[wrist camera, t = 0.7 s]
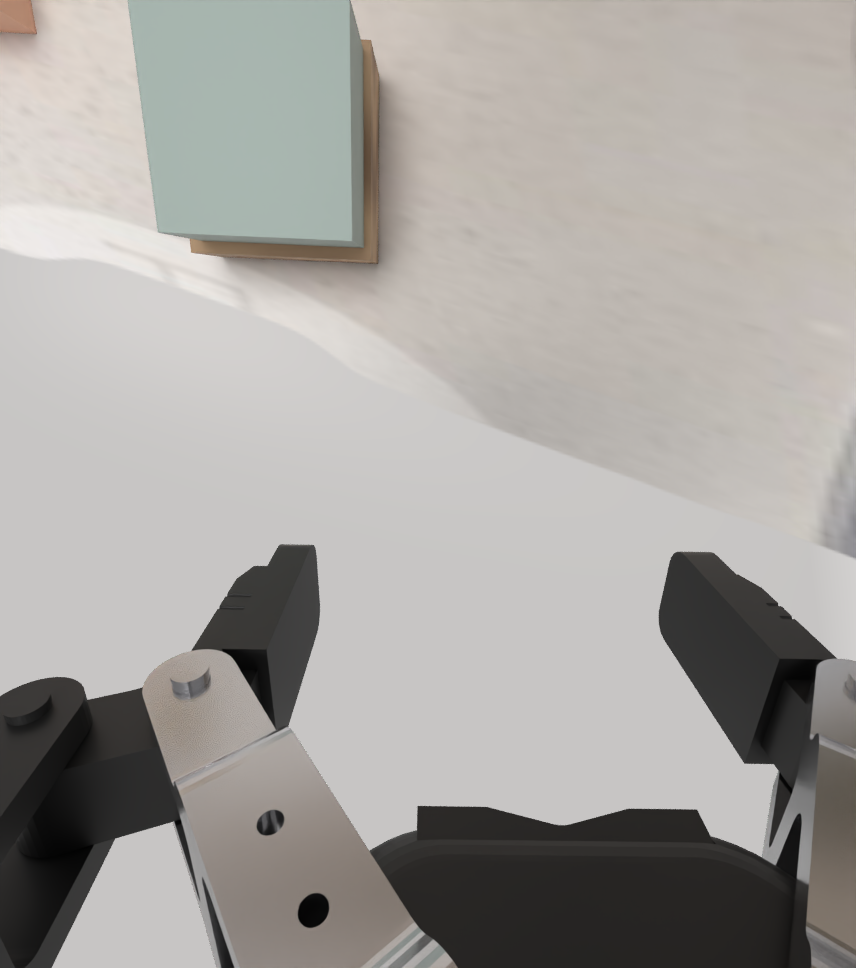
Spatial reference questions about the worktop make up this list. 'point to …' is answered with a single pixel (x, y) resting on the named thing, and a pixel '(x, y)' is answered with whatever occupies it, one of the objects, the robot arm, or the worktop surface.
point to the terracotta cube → (17, 17)
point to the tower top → (253, 119)
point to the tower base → (370, 196)
